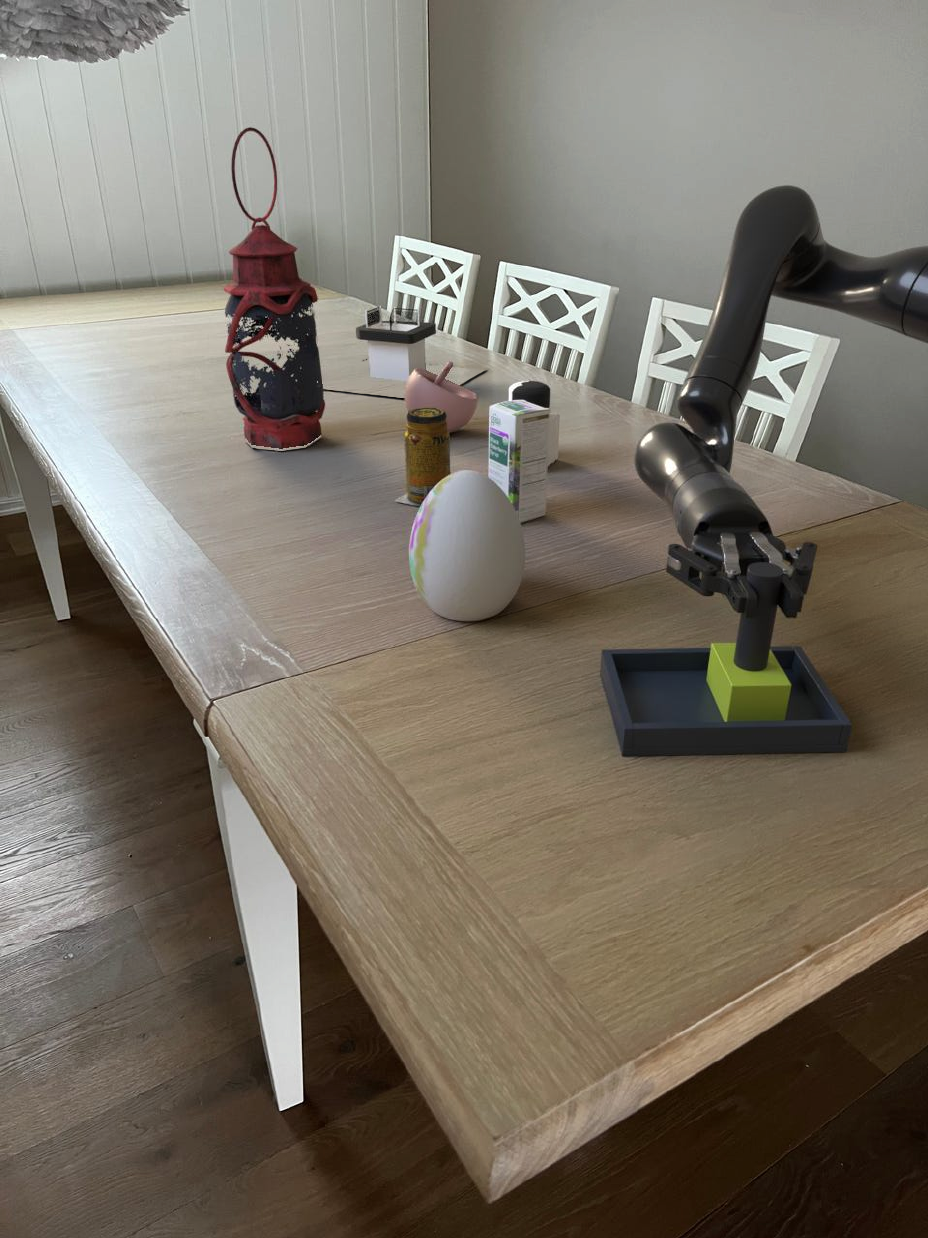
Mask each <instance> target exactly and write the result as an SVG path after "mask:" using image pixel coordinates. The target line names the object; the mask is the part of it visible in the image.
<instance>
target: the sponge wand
mask: <svg viewBox="0 0 928 1238" xmlns="http://www.w3.org/2000/svg"><path fill="white" fill-rule="evenodd" d="M746 578H747V580H748V582H749V583H750V585H751V586H752V588H753V590H754V591H755V593H756V595H757V605H756V611H755V616H754V618H752V619H744V618H743V616H742V614H741V613H740V616H739V622H738V629H737V635H736V641H735V642H712V643H710V648H711V650H710V658H709V665H708V672H707V679H706V680H707V683H708V685H709V687H710V690H711V692H712V694H713V696H714V699H715V701H716V703H717V705H718V708H719V710H720V712H721V714H722V717H723V719H724V721H725V722H733V721H785V716H786V711H787V705H788V700H789V695H790V690H791V683H790V682H789V680H788V678H787V676H786V675H785V673H784V671H783V670H782V668H781V666H780V665H779V663H778V661H777V659H776V658H775V656H774V654H773V653H772V651H771V649H770V647H772V641H773V640H772V639H773V635H774V630H775V622H776V618H777V613H778V612H777V611H778V607H779V606H778V601H779V595H780V590H781V584H782V578H783V569H782V568H781V567H779V566H777V565H775V564H772V563H766V562H757V563H752V564H750V565H749V566H748V570H747V577H746Z"/></svg>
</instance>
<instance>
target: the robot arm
mask: <svg viewBox="0 0 928 1238" xmlns="http://www.w3.org/2000/svg"><path fill="white" fill-rule="evenodd" d="M824 238H825V237H824V235H823V230H822V226H821V223H820V217H819V214H818V210H817V207H816V204H815V202H814V200H813V199H812V197H811V195H810V194H809V193H808V192H807V191H806V190H805V189H803V188H801V187H799V186H796V185H788V184H787V185H786V184H785V185H784V184H783V185H778V186H777V185H776V186H774V187H770V188H768V189H766V190H764V191H762V192H760V193H759V194H757V195H756V196H755V197H754V198H753V199H751V200H750V201H749V202H748V203H747V205H746V206H745V207H744V208H743V210H742V212H741V213H740V215H739V218H738V220H737V223H736V226H735V229H734V233H733V236H732V242H731V246H730V250H729V254H728V259H727V261H726V262H727V263H726V265H725V269H724V273H723V276H722V280H721V282H720V283H721V284H720V287H719V290H718V293H717V297H716V300H715V303H714V307H713V310H712V313H711V316H710V318H709V321H708V324H707V327H706V330H705V332H704V335H703V338H702V341H701V343H700V345H699V348H698V350H697V351H696V355H695V357H694V358H693V361H692V363H691V366H690V367H689V370H688V372H687V374H686V377H685V379H684V381H683V383H682V385H681V388H680V390H679V392H678V395H677V398H676V403H675V404H676V409H677V412H678V414H679V415H680V417H681V418H682V419H683V421H684V422H685V423H686V424H687V425H688V426H689V427H690V429H691V430H689V429H688V428H687V427H685V426H684V425H682V424H680V423H677V422H673V421H664V422H660V423H657V424H655V425H653V426H651V427H650V428H648V429H647V430H646V431H645V432H644V433H643V435H642V436H641V437H640V439H639V440H638V443H637V445H636V447H635V452H634V460H633V461H634V468H635V471H636V474H637V476H638V477H639V478H640V480H641V481H642V482H643V483H644V484H645V486H647V488H648V489H650V491H652V493H654V494H655V495H656V496H657V497H658V498H659V499H660V500H661V501H662V502H663V503H664V504H665V505H666V506H667V508H668V510H669V512H670V514H671V516H672V518H673V520H674V524H675V528H676V531H677V534H678V536H679V537H680V539H681V541H682V543H683V544H684V546H683V545H682V544H679V543H670V544H668V548H667V556H666V557H667V558H666V566H665V567H666V568H665V572H666V573H667V574H669V575H670V576H672V577H673V578H675V579H676V580H677V581H680V582H681V583H682V584H684V585H685V586H687V587H689V588H690V589H692V590H693V591H694V592H696V593H698V594H699V595H701V596H702V597H712V596H713V597H714V595H715V593H718V594H721V596H722V598H723V599H724V600H725V599H726V600H727V601H728V602H729V604H730V606H731V608H732V610H733V611H734V612H736V613H737V614H740V615H741V614H742V616H743V618H744V619H752V618H754V616H755V611H756V605H757V595H756V593H755V591H754V590H753V588H752V586H751V585H750V583H749V582H748V580H747V578H746V577H747V570H748V566H749V565H750V564H752V563H757V562H766V563H772V564H775V565H777V566H779V567H781V568H782V569H783V578H782V584H781V590H780V595H779V601H778V606H777V607H778V608H779V609H780V610H781V612H782V614H783V615H784V617H785V618H786V619H796V618H798V613H802V608H803V603H804V598H805V595H807V594H808V590H809V586H810V583H811V578H812V574H813V571H814V565H815V562H816V561H815V560H816V555H817V551H818V544H817V543H814V542H810V541H805V542H803V543H802V546H796V548H795V547H790V546H786V543H785V542H784V540H782V539H780V538H778V537H777V536H775V535H774V533H773V531H772V528H771V525H770V521H769V520H768V518H767V516H766V515H765V514H764V513H763V511H762V510H761V508H759V506H758V505H757V503H756V502H755V501H754V500H753V498H752V497H751V495H750V494H749V493H748V491H746V489H745V488H744V487H743V486H742V485H741V484H740V483H739V482H737V481H736V480H735V479H734V478H733V476H732V475H731V470H732V464H733V455H734V447H735V437H736V429H737V422H738V415H739V412H740V410H741V408H742V405H743V403H744V401H745V398H746V396H747V393H748V392H749V389H750V387H751V384H752V383H753V380H754V377H755V374H756V371H757V369H758V364H759V361H760V356H761V351H762V346H763V341H764V336H765V335H764V334H765V329H766V322H767V316H768V311H769V306H770V302H771V299H772V297H775V298H779V299H782V300H786V301H792V302H795V303H801V304H805V305H809V306H810V305H811V306H814V307H819V308H823V309H826V310H831V311H835V312H839V313H841V314H844V315H846V316H850V317H852V318H855V319H858V320H861V321H865V322H868V323H871V324H874V325H876V326H880V327H883V328H886V329H888V330H891V331H894V332H896V333H898V334H901V335H904V336H906V337H908V338H911V339H914V340H917V341H920V342H922V343H926V344H928V245H923V246H922V245H921V246H915V247H914V246H913V247H910V248H906V249H901V250H899V251H895V252H890V253H888V254H885V255H881V256H873V257H872V256H864V255H859V254H857V253H853V252H850V251H846V250H843V249H841V248H838V247H835V246H833V245H832V244H830V243H829V242H827V241H826V240H825V239H824ZM784 561H786V562H788V564H789V565H788V564H787V563H785V562H784ZM790 566H791V567H792V568H791V567H790ZM700 573H701V576H700Z"/></svg>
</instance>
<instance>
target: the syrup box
mask: <svg viewBox="0 0 928 1238" xmlns="http://www.w3.org/2000/svg"><path fill="white" fill-rule="evenodd" d="M488 409H489V410H488V411H489V414H488V472H487V473H488V474H487V475H488V476H487V477H488V478H490V479H491V480H493V481H494V482H495V483H496V484H497V485H498V486H499V487H500V488H501V489H502V490H503V492H504V493H505V494H506V495H507V497H508V498H509V500H510V501H511V503H512V505H513V506H514V509H515V511H516V513H517V515H518V518H519V520H520V523H521V524H523V523H525V522H529V521H531V520H535V519H537V518H541V517H544V516H546V510H547V488H548V487H547V486H548V468H549V466H548V446H549V424H550V413H551V408H550V409H548V408H543V407H541V406H538V405H535V404H532V403H529V402H526V401H525V400H511V401H509V400H505V401H501V402H498V403H495V404H491V405H489V408H488Z"/></svg>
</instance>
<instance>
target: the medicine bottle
mask: <svg viewBox="0 0 928 1238" xmlns="http://www.w3.org/2000/svg"><path fill="white" fill-rule="evenodd" d="M511 400H525V401H526V402H529V403H532V404H535V405H538V406H541V407H543V408H548V409H550V410H551V387H550V386H549V385H548V384H546V383H544V382H542V381H537V380H521V381H517V382H515V383H513V384H511V385H510V386H509V388H508V401H511ZM560 419H561V415H560V414H559V413H555V412H550V424H549V446H548V467H549V466H551V465H552V464H553V463H555V462H556V461H557V460H558V459H559V447H560V445H559V444H560ZM555 460H556V461H555ZM551 463H552V464H551ZM550 464H551V465H550Z"/></svg>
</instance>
